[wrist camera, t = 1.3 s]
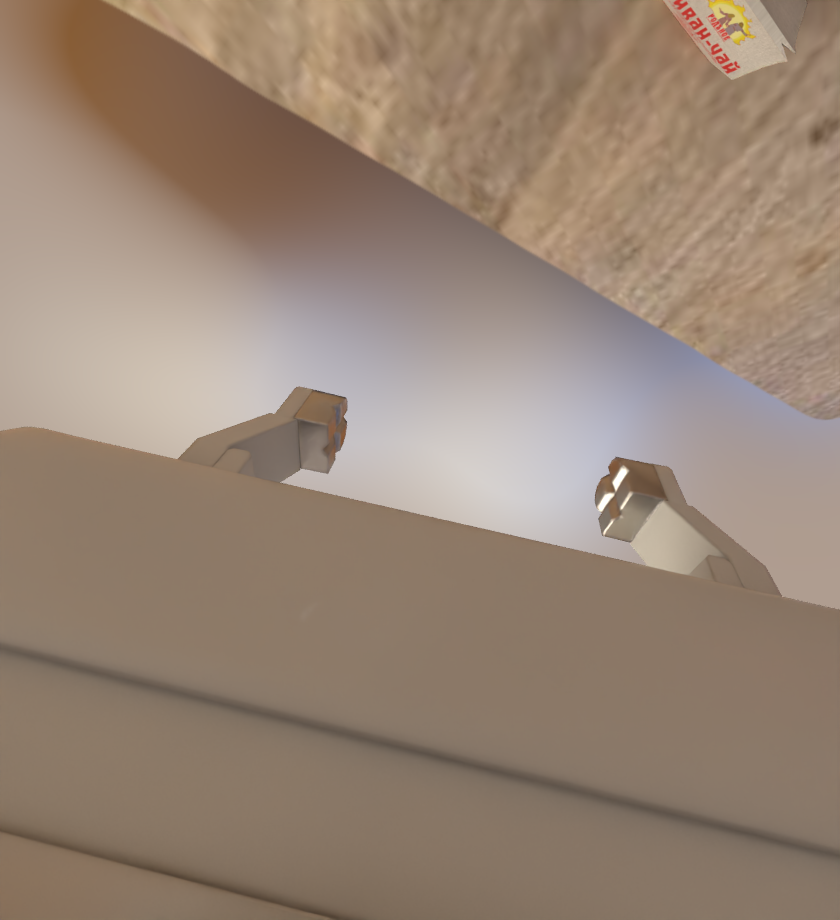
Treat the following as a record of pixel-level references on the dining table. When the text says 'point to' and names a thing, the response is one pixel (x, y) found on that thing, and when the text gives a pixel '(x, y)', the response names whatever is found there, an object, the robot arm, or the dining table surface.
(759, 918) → the robot arm
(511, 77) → the dining table surface
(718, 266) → the dining table surface
